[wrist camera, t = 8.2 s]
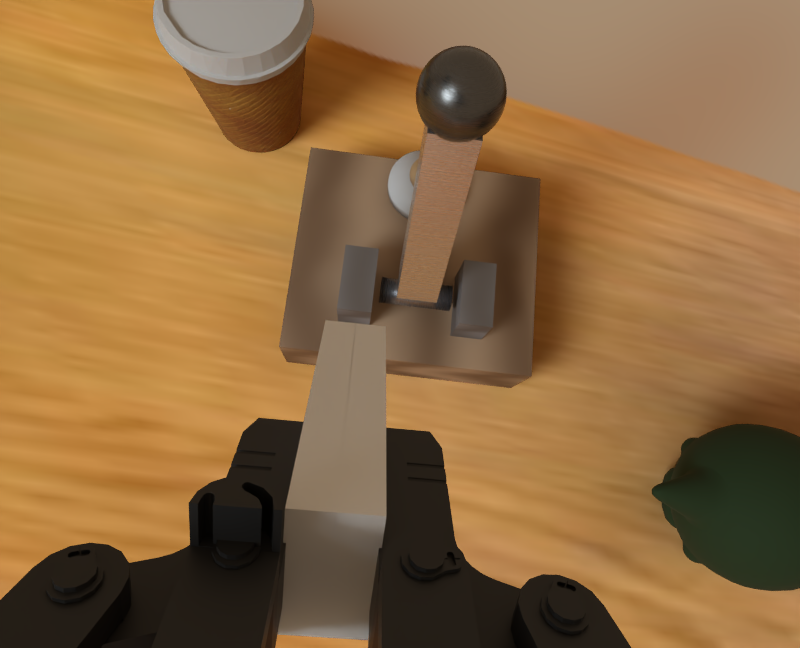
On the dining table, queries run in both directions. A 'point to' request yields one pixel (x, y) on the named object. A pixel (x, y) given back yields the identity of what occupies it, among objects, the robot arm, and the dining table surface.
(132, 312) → the dining table surface
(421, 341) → the base
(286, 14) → the disposable coffee cup
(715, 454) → the toy figurine
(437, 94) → the lever
